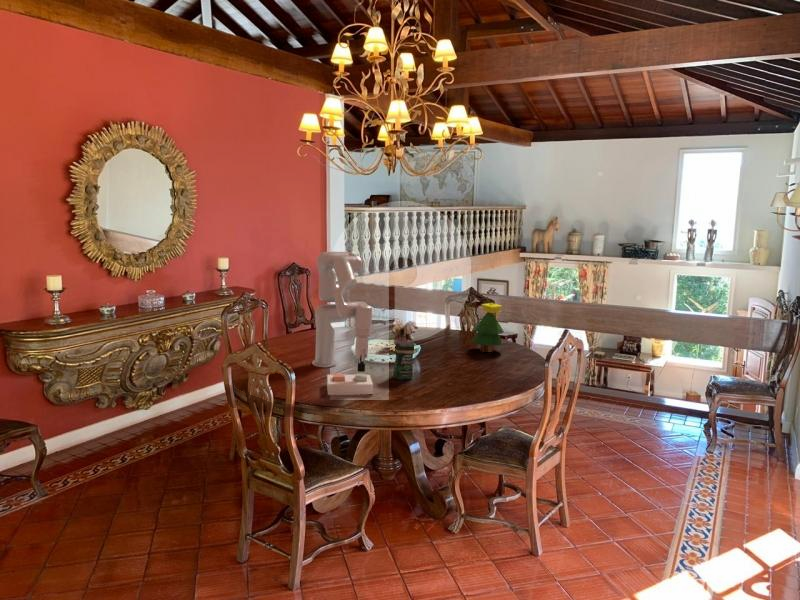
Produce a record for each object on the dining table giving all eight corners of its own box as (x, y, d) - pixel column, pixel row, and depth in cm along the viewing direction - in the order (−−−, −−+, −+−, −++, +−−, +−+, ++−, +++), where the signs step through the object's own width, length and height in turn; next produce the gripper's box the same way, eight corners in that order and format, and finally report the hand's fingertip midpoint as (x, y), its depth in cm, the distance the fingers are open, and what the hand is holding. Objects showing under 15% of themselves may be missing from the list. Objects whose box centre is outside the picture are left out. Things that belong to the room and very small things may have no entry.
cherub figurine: (420, 346, 358) (422, 317, 355) (417, 354, 340) (419, 323, 337) (391, 343, 360) (392, 315, 357) (386, 351, 342) (388, 321, 339)
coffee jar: (395, 380, 290) (397, 343, 287) (391, 375, 298) (393, 339, 294) (414, 380, 293) (416, 343, 290) (409, 375, 301) (412, 339, 297)
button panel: (326, 384, 278) (327, 374, 278) (369, 384, 282) (369, 374, 281) (328, 395, 265) (328, 384, 264) (372, 395, 268) (373, 384, 267)
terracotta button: (332, 380, 274) (333, 373, 273) (343, 380, 275) (344, 373, 274) (333, 384, 269) (333, 376, 268) (344, 384, 270) (344, 376, 269)
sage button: (354, 380, 275) (354, 373, 275) (365, 380, 276) (365, 373, 276) (355, 384, 271) (355, 377, 270) (366, 384, 271) (366, 377, 271)
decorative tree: (463, 349, 356) (467, 300, 351) (486, 345, 368) (490, 298, 362) (486, 357, 341) (490, 306, 336) (509, 353, 353) (514, 304, 347)
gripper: (353, 328, 276) (351, 366, 279) (356, 336, 261) (354, 376, 265) (369, 328, 277) (367, 366, 280) (373, 336, 263) (371, 376, 266)
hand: (361, 371), depth 272 cm, fingers closed
